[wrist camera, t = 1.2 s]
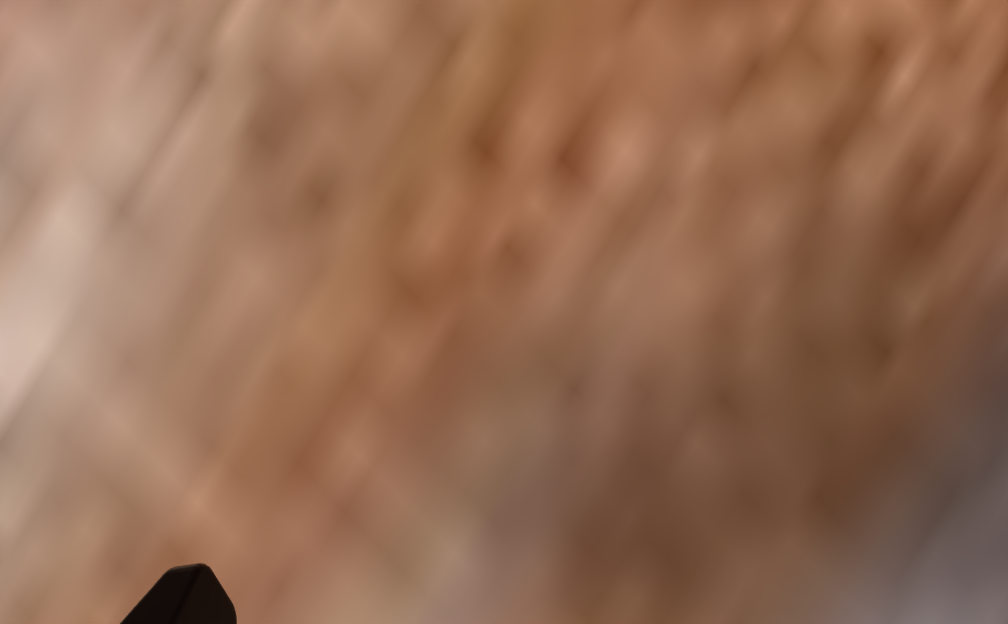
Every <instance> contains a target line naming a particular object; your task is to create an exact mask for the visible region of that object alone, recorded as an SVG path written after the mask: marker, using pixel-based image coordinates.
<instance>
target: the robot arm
mask: <svg viewBox="0 0 1008 624" xmlns="http://www.w3.org/2000/svg"><path fill="white" fill-rule="evenodd" d="M120 624H237V618H236V612H235V608H234V606H233V603H232V602H231V600H230V598H229V597H228V595H227V594H226V592H225V590H224V589H223V587H222V586H221V584H220V582H219V581H218V579H217V578H216V576H215V574H214V573H213V571H212V570H211V568H210V567H209V566H207V565H205V564H203V563H198V564H190V565H183V566H177V567H173V568H171V569H169V570H168V571H167V572H165V573H164V574H163V575H162V577H161V578H160V579H159V580H158V581H157V582H156V583H155V584H154V586H153V587H152V588H151V589H150V590H149V591H148V592H147V594H146V595H145V596H144V597H143V598H142V599H141V600H140V601H139V603H138V604H137V605H136V606H135V607H134V608H133V609H132V610H131V612H130V613H129V614H128V615H127V616H126V617H125V618H124V620H123V621H122V622H121V623H120Z"/></svg>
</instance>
